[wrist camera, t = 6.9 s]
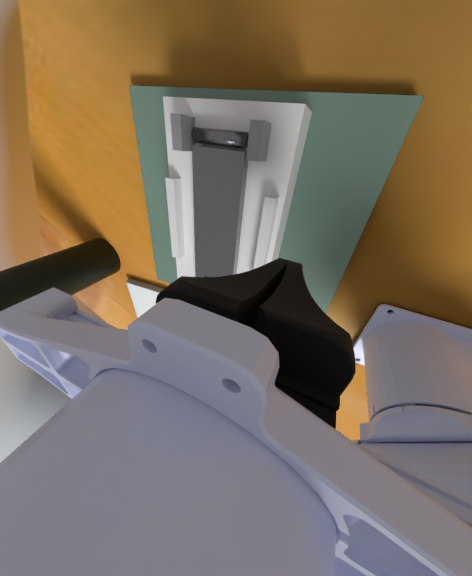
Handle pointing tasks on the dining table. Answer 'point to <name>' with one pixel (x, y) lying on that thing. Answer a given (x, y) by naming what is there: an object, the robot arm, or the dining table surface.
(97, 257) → the wine bottle
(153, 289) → the external hard drive
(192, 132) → the strap
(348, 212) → the green base plate
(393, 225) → the dining table surface
